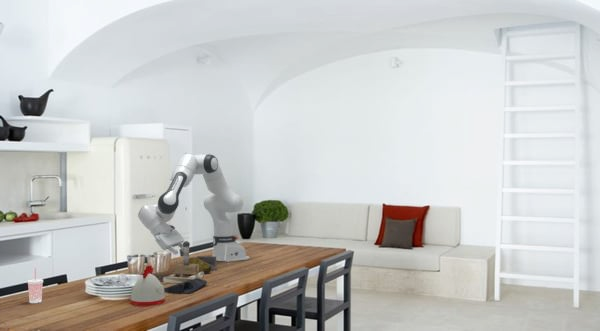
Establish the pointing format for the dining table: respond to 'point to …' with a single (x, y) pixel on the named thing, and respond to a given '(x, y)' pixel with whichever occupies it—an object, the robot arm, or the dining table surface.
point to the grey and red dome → (147, 290)
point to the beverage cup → (35, 289)
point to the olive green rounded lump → (200, 264)
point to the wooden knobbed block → (186, 263)
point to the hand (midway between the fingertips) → (180, 252)
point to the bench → (178, 277)
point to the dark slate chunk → (186, 286)
